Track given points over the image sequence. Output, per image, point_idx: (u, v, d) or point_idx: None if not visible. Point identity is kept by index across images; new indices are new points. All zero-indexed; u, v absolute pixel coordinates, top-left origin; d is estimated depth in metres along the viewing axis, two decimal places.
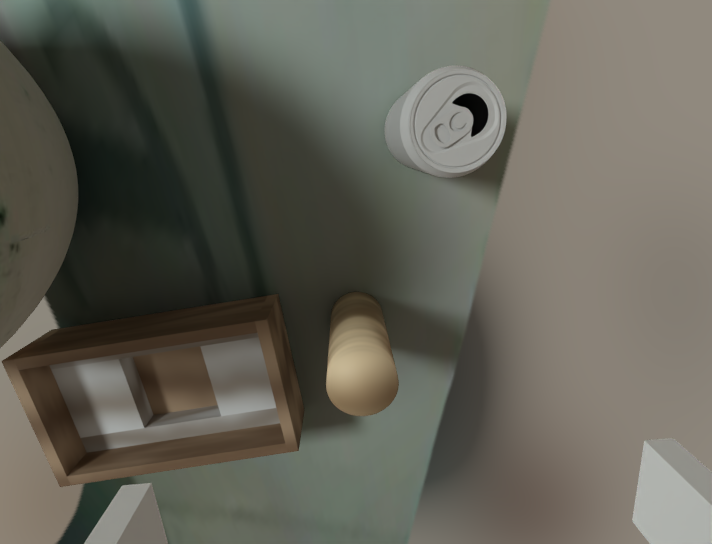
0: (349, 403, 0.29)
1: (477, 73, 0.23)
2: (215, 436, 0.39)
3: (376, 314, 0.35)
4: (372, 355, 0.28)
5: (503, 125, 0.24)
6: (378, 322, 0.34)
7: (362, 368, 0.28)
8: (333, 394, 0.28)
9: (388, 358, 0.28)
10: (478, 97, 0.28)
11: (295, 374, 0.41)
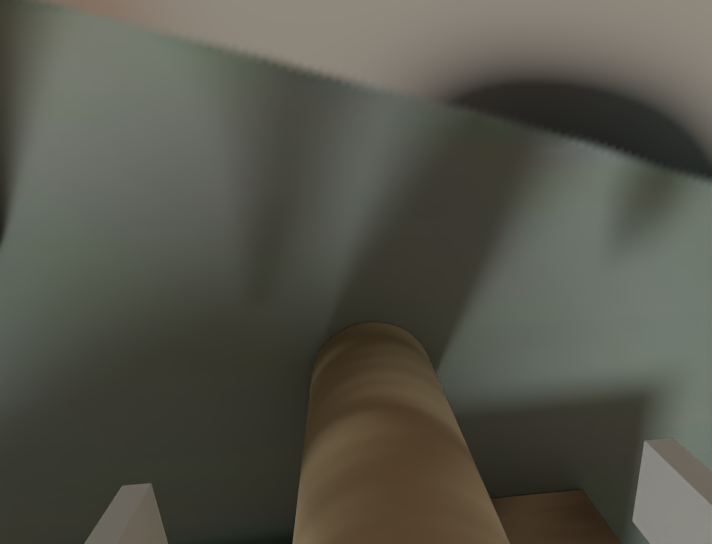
0: None
1: None
2: None
3: (324, 403, 0.12)
4: None
5: None
6: (323, 438, 0.11)
7: None
8: None
9: None
10: None
11: None
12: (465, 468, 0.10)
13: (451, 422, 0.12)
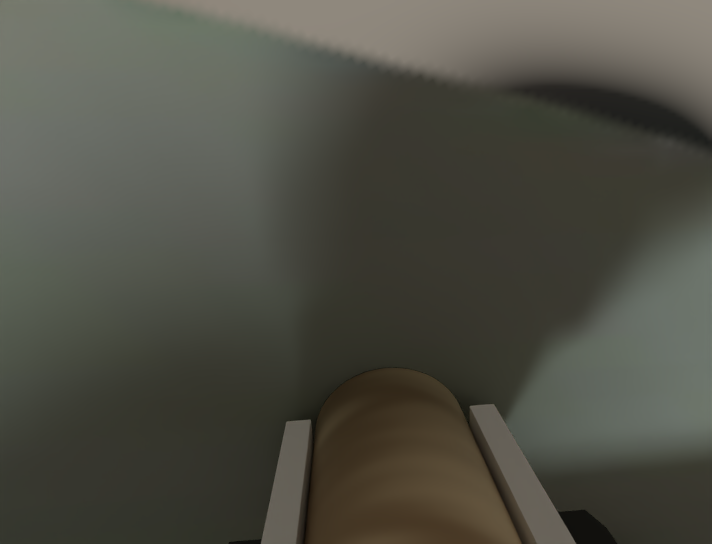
0: None
1: None
2: None
3: (330, 499, 0.09)
4: None
5: None
6: None
7: None
8: None
9: None
10: None
11: None
12: None
13: (512, 539, 0.08)
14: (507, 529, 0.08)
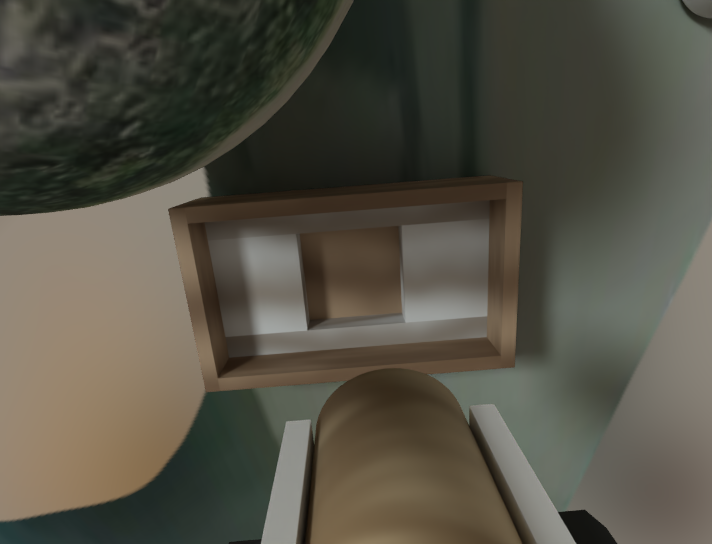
0: None
1: None
2: (396, 347, 0.31)
3: (331, 499, 0.09)
4: None
5: None
6: None
7: None
8: None
9: None
10: None
11: None
12: None
13: (513, 539, 0.08)
14: (508, 529, 0.08)
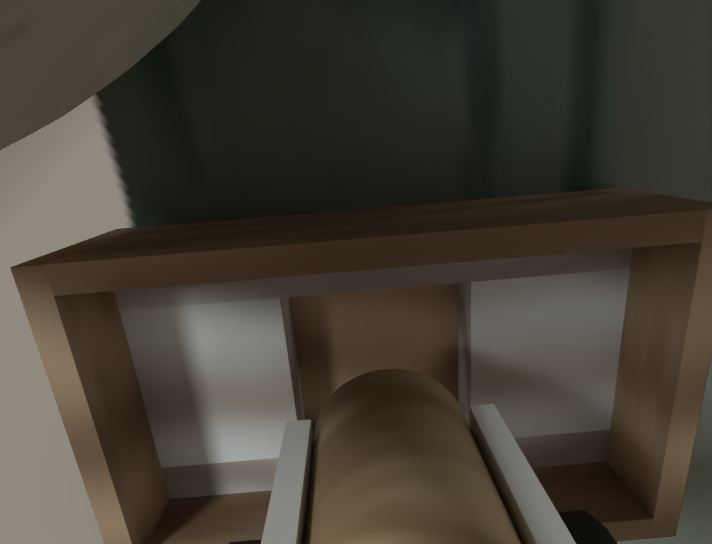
0: None
1: None
2: None
3: (330, 500, 0.09)
4: None
5: None
6: None
7: None
8: None
9: None
10: None
11: None
12: None
13: (512, 540, 0.08)
14: (507, 530, 0.08)
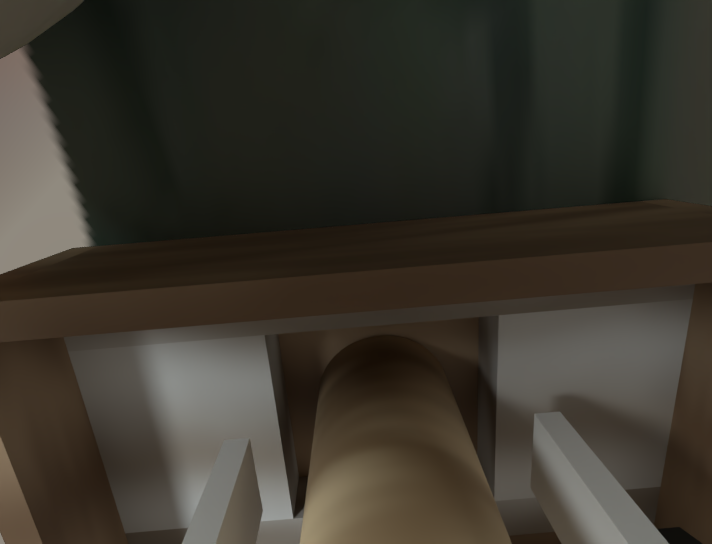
0: None
1: None
2: None
3: (330, 431, 0.11)
4: None
5: None
6: (328, 476, 0.10)
7: None
8: None
9: None
10: None
11: None
12: (489, 523, 0.08)
13: (471, 459, 0.10)
14: (468, 453, 0.11)
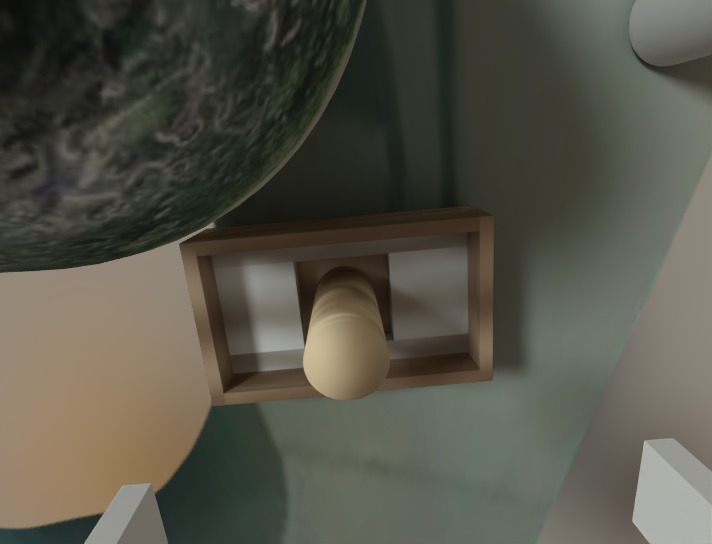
0: (370, 377, 0.24)
1: None
2: None
3: (320, 291, 0.30)
4: (307, 349, 0.23)
5: None
6: (320, 298, 0.29)
7: (324, 361, 0.23)
8: (356, 393, 0.24)
9: (318, 327, 0.23)
10: None
11: None
12: (369, 302, 0.28)
13: (370, 295, 0.29)
14: (369, 293, 0.30)
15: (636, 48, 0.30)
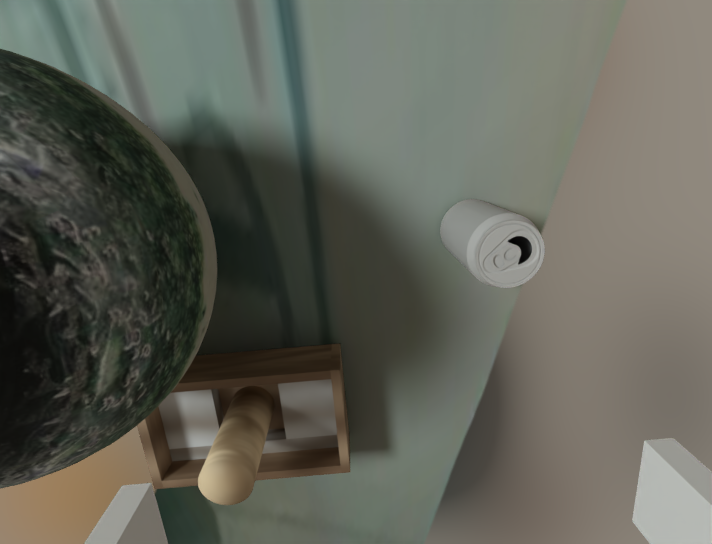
0: (241, 491, 0.38)
1: (527, 224, 0.32)
2: (280, 455, 0.48)
3: (227, 414, 0.44)
4: (200, 476, 0.37)
5: (541, 258, 0.33)
6: (223, 424, 0.43)
7: (211, 482, 0.37)
8: (233, 501, 0.38)
9: (208, 461, 0.37)
10: None
11: (346, 407, 0.50)
12: (253, 430, 0.41)
13: (258, 420, 0.43)
14: (258, 418, 0.43)
15: None
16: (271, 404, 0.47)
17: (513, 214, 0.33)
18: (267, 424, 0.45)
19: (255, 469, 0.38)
